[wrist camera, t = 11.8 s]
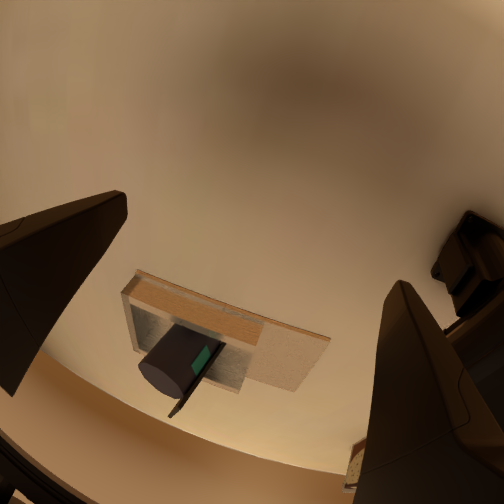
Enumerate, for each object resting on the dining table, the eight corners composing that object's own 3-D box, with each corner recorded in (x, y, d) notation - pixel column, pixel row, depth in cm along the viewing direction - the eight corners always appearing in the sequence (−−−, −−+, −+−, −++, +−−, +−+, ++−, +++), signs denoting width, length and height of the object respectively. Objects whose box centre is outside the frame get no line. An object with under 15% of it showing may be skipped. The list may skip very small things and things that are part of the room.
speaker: (243, 349, 34) (200, 422, 26) (213, 357, 37) (172, 420, 29) (198, 302, 32) (142, 373, 24) (172, 315, 36) (121, 377, 28)
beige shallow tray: (330, 338, 30) (326, 366, 27) (295, 389, 38) (289, 411, 35) (137, 269, 32) (120, 290, 29) (145, 333, 40) (134, 351, 37)
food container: (376, 450, 46) (369, 495, 39) (349, 446, 47) (340, 492, 39) (411, 430, 39) (407, 484, 31) (381, 426, 39) (374, 482, 32)
